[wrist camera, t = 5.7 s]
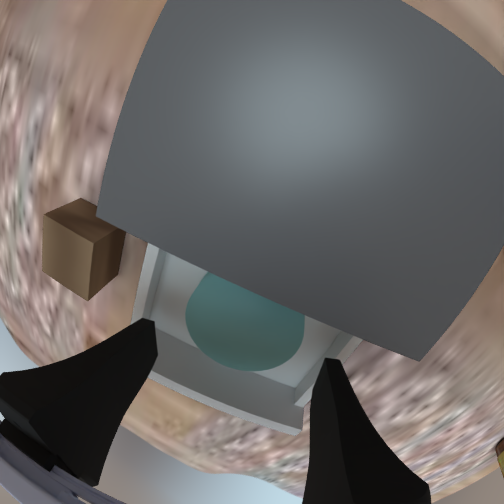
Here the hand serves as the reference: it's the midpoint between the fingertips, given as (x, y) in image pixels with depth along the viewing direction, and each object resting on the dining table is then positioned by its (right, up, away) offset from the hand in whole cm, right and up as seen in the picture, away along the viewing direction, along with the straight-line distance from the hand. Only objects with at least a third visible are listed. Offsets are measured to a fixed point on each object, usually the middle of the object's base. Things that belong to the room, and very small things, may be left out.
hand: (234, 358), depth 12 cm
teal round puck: (+1, +2, +4) cm, 4 cm away
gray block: (+4, +10, +1) cm, 11 cm away
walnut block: (-9, +5, +6) cm, 12 cm away
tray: (+1, +1, +4) cm, 5 cm away
